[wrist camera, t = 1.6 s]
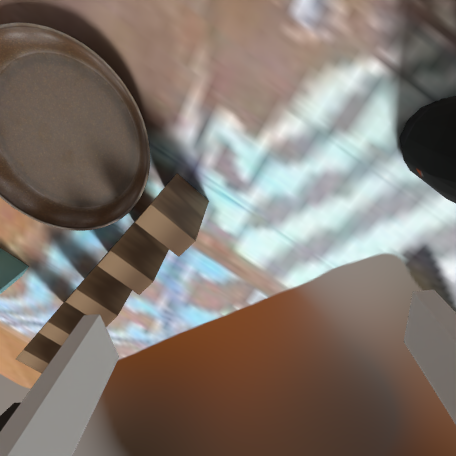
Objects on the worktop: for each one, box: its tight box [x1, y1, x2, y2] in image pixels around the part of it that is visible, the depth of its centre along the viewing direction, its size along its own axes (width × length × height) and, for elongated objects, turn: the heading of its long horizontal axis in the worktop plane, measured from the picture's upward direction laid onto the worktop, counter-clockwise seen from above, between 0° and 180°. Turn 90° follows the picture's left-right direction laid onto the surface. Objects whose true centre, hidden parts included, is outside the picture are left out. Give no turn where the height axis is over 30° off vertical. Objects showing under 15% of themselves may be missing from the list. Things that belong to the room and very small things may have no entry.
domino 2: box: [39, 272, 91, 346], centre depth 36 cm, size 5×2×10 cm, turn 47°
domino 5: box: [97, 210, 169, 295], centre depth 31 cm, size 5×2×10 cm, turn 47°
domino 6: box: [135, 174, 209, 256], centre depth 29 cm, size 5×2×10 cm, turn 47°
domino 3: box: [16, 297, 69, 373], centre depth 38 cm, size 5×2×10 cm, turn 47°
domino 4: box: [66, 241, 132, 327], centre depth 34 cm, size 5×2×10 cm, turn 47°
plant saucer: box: [0, 23, 150, 230], centre depth 30 cm, size 21×21×3 cm
